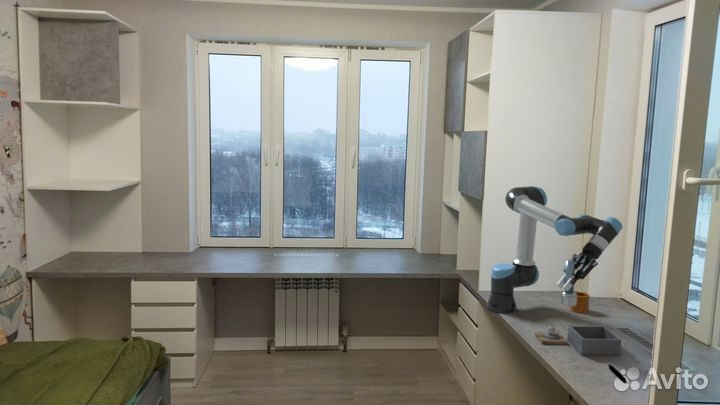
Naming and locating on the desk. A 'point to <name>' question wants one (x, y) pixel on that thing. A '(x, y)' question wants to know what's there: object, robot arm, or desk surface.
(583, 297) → the mug
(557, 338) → the stud base
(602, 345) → the bin
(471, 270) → the desk surface
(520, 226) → the robot arm
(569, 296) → the strut
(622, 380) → the pen
